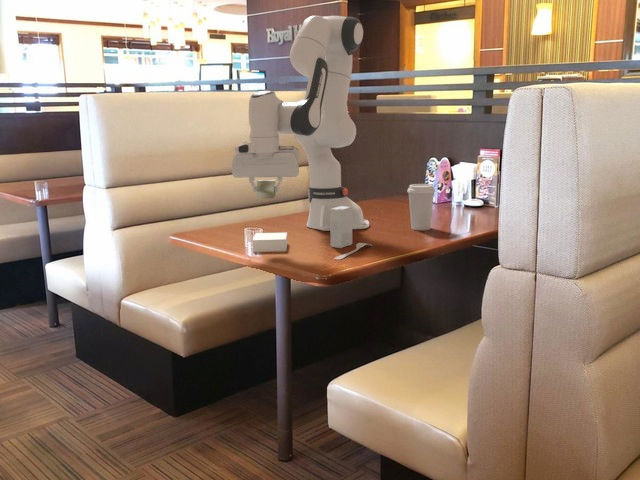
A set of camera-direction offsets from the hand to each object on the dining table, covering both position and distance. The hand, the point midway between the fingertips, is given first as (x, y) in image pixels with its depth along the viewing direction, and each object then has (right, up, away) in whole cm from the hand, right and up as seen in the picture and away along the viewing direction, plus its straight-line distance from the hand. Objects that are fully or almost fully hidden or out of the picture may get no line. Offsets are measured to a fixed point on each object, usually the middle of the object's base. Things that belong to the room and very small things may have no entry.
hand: (266, 192), depth 194 cm
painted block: (+1, -17, +3) cm, 18 cm away
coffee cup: (+51, -11, +26) cm, 59 cm away
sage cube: (0, -2, 0) cm, 2 cm away
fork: (+26, -19, -5) cm, 33 cm away
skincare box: (+23, -17, +3) cm, 29 cm away
